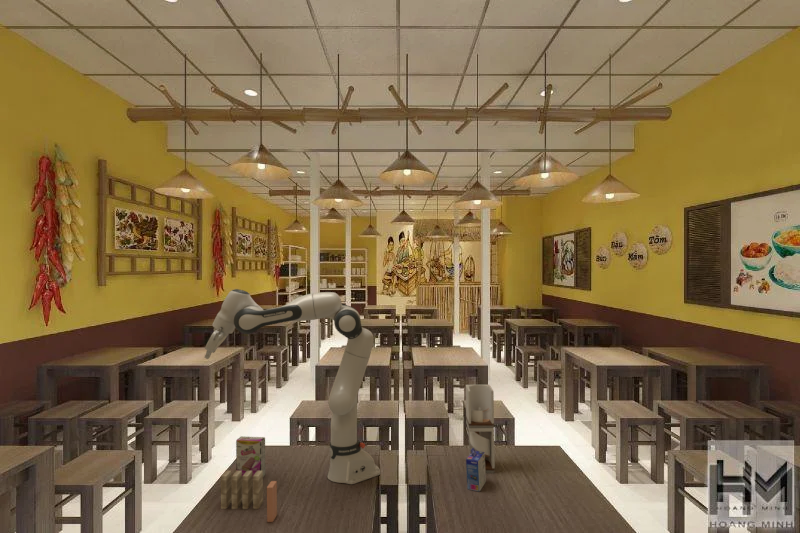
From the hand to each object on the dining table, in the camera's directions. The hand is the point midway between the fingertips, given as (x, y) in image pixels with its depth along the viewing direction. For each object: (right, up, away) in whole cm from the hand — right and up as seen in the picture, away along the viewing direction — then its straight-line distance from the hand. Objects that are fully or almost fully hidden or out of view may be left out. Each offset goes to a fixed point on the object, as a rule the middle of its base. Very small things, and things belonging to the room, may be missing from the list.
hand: (209, 354), depth 198 cm
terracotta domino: (+34, -52, -29) cm, 69 cm away
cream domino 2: (+18, -53, -19) cm, 59 cm away
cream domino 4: (+26, -53, -20) cm, 62 cm away
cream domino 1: (+14, -53, -19) cm, 58 cm away
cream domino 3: (+22, -53, -19) cm, 60 cm away
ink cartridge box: (+110, -52, -6) cm, 121 cm away
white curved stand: (+114, -52, +11) cm, 126 cm away
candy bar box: (+16, -53, +5) cm, 56 cm away
